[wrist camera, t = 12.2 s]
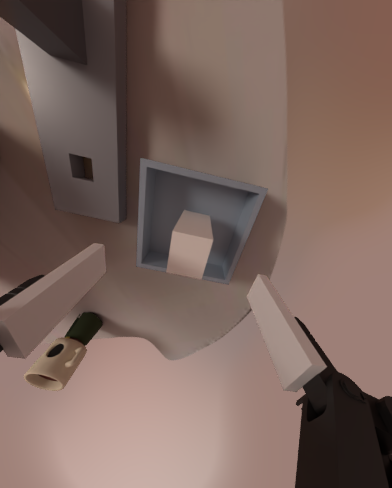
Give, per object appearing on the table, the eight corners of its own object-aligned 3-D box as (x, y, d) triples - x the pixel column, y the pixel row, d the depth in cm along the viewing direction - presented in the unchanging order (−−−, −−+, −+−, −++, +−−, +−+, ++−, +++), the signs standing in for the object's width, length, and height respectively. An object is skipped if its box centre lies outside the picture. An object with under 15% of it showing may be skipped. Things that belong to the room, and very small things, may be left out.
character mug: (98, 304, 36) (47, 367, 24) (116, 321, 38) (79, 386, 27) (67, 315, 38) (7, 379, 26) (87, 331, 41) (41, 395, 29)
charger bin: (224, 267, 29) (228, 284, 25) (146, 251, 28) (136, 266, 24) (254, 185, 22) (268, 188, 18) (153, 161, 21) (140, 157, 17)
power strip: (126, 218, 26) (116, 224, 23) (68, 206, 25) (50, 210, 22) (126, -68, 13) (104, -137, 10) (12, -106, 13) (-45, -192, 10)
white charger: (202, 239, 26) (201, 279, 16) (180, 234, 26) (166, 272, 16) (209, 212, 24) (213, 239, 14) (185, 207, 23) (172, 230, 14)
